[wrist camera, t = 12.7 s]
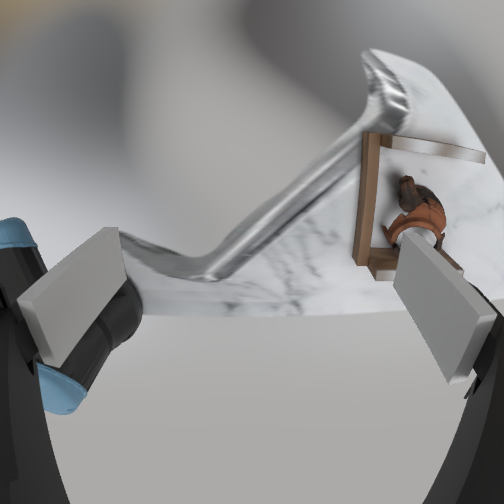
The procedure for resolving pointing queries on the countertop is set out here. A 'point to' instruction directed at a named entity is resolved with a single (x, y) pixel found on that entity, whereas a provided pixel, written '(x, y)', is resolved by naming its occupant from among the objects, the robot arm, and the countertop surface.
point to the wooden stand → (376, 259)
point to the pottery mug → (417, 213)
